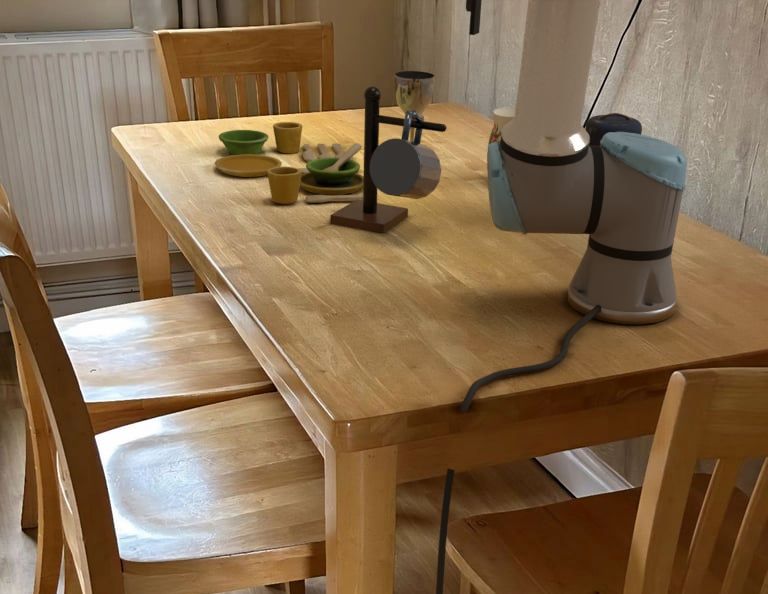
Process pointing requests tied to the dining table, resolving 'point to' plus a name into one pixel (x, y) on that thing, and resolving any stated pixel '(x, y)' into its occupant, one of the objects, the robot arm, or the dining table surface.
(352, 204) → the cup holder
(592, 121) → the canister
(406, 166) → the mug
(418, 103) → the wine glass
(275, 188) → the tableware set
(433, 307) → the dining table surface
